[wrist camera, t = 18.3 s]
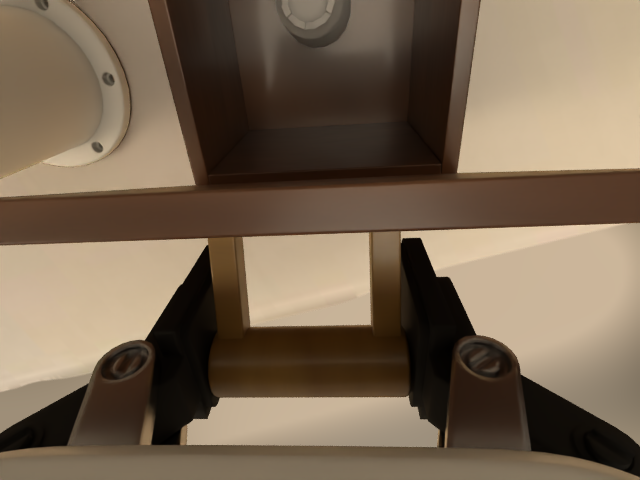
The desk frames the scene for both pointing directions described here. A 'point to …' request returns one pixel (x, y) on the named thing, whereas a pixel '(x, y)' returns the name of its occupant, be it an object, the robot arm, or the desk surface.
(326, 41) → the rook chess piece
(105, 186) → the desk surface
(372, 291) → the lid
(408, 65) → the chest
